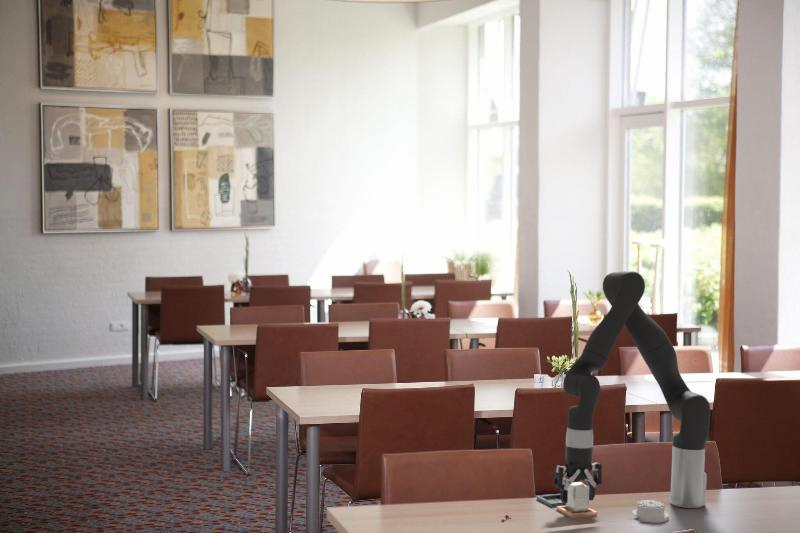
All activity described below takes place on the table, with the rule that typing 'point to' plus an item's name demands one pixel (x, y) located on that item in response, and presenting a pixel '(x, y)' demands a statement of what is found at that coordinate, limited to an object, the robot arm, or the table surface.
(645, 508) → the mechanical component
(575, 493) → the block
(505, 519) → the pencil
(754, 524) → the table surface
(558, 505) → the double frame tray
